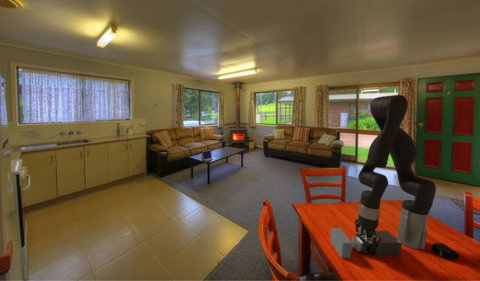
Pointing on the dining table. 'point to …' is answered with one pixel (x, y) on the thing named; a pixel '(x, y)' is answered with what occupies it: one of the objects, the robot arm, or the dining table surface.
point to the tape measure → (444, 251)
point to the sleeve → (387, 245)
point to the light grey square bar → (360, 243)
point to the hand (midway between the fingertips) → (364, 247)
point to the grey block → (341, 243)
